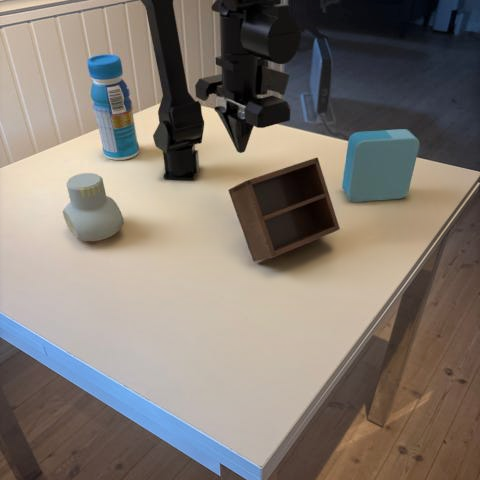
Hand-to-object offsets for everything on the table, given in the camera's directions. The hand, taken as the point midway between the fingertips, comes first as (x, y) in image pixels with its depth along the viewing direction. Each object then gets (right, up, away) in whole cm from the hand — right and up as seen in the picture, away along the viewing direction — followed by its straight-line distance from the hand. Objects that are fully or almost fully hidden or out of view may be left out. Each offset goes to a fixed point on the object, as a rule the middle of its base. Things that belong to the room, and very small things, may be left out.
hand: (241, 151), depth 83 cm
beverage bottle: (-28, +10, +30) cm, 42 cm away
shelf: (+9, -17, -4) cm, 19 cm away
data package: (+26, -4, +13) cm, 30 cm away
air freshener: (-26, -13, +4) cm, 29 cm away
